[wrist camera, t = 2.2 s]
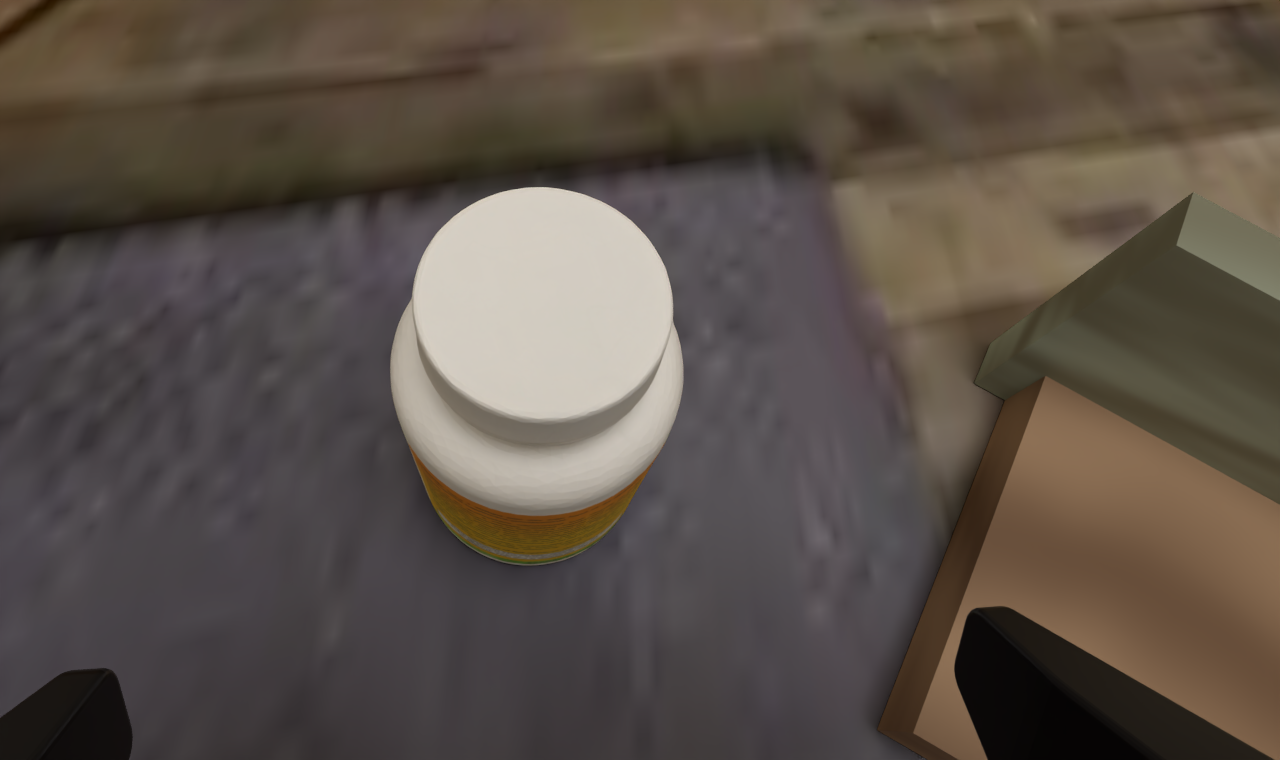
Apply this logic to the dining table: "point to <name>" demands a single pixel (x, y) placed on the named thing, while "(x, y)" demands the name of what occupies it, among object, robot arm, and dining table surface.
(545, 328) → the supplement bottle
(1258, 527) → the wall board ledge
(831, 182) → the dining table surface
